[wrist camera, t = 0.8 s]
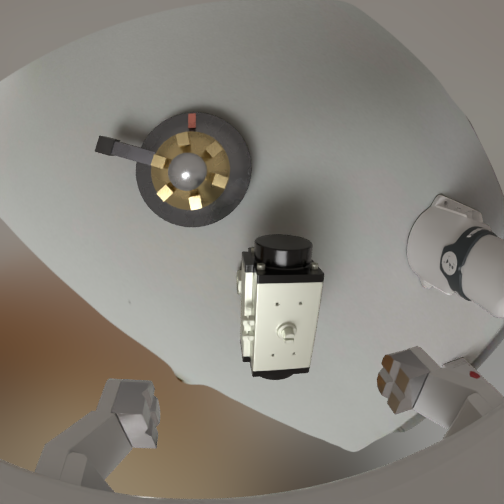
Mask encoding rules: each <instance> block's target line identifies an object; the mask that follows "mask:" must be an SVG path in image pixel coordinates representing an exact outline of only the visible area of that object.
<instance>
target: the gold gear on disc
mask: <svg viewBox="0 0 504 504" xmlns="http://www.w3.org/2000/svg"><path fill="white" fill-rule="evenodd" d="M187 131H195V132H201V133H204V134H207V135H209V136H211V137H213V138H214V139H215V140H217V141H218V142H219V143H220V144H221V146H222V147H223V148H224V150H225V152H226V154H227V156H228V159H229V163H230V176H229V180H228V183H227V186H226V188H225V190H224V191H223V193H222V194H221V195H220V197H219V198H218V199H217V200H215V201H214V202H213V203H211V204H210V205H208V206H206V207H203V208H200V209H195V210H184V209H179V208H176V207H173V206H171V205H170V204H168V203H167V202H165V201H163V200H162V199H161V198H160V197H159V196H158V195H157V191H156V190H155V188H154V185H153V182H152V177H151V166H150V165H147V164H143V163H140V162H137V164H136V179H137V184H138V188H139V191H140V193H141V196H142V197H143V199H144V201H145V202H146V204H147V205H148V207H149V208H150V209H151V210H152V211H153V212H154V213H155V214H157V215H158V216H159V217H161V218H162V219H164V220H165V221H168V222H170V223H172V224H175V225H179V226H184V227H200V226H205V225H209V224H212V223H215V222H217V221H219V220H221V219H223V218H224V217H226V216H227V215H229V214H230V213H231V212H232V211H233V210H234V209H235V208H236V207H237V206H238V205H239V203H240V202H241V200H242V199H243V197H244V195H245V193H246V191H247V189H248V186H249V183H250V178H251V159H250V154H249V151H248V148H247V145H246V143H245V141H244V140H243V138H242V137H241V135H240V134H239V133H238V131H237V130H236V129H235V128H234V127H233V126H231V125H230V124H229V123H228V122H226V121H224V120H223V119H221V118H219V117H216V116H214V115H210V114H206V113H197V112H192V113H184V114H180V115H176V116H174V117H171V118H169V119H167V120H165V121H164V122H162V123H161V124H159V125H158V126H157V127H156V128H155V129H154V130H153V131H152V132H151V133H150V134H149V135H148V137H147V138H146V139H145V141H144V143H143V144H142V147H141V148H144V149H147V150H151V151H154V152H157V150H158V149H159V147H160V146H161V145H162V144H163V143H164V142H165V141H166V140H167V139H169V138H170V137H172V136H174V135H176V134H178V133H182V132H187ZM168 176H169V180H170V182H171V183H172V184H173V185H174V186H175V187H176V188H178V189H180V190H184V191H190V190H193V189H196V188H197V187H199V186H200V185H201V184H202V183H203V181H204V180H205V178H206V176H207V165H206V163H205V161H204V159H203V158H202V157H200V156H199V155H197V154H194V153H182V154H179V155H177V156H176V157H175V158H174V159H173V160H172V161H171V163H170V165H169V168H168Z"/></svg>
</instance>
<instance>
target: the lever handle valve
mask: <svg viewBox="0 0 504 504" xmlns="http://www.w3.org/2000/svg"><path fill="white" fill-rule="evenodd" d="M95 152H98V153H102V154H106V155H109V156H115V155H116V156H119V157H123V158H126V159H130V160H133V161H137V162H140V163H143V164H147V165H150V166H151V177H152V182H153V185H154V188H155V190H156V191H157V195H158V196H159V197H160V198H161V199H162V200H163V201H165V202H167V203H168V204H170V205H171V206H173V207H176V208H179V209H184V210H195V209H200V208H203V207H206V206H208V205H210V204H211V203H213V202H214V201H215V200H217V199H218V198H219V197H220V195H221V194H222V193H223V191H224V190H225V188H226V186H227V183H228V180H229V176H230V163H229V159H228V156H227V154H226V152H225V150H224V148H223V147H222V146H221V144H220V143H219V142H218V141H217V140H215V139H214V138H213V137H211V136H209V135H207V134H204V133H201V132H195V131H187V132H182V133H178V134H176V135H174V136H172V137H170V138H169V139H167V140H166V141H165V142H164V143H163V144H162V145H161V146H160V147H159V149H158V150H157V152H154V151H151V150H147V149H144V148H140V147H137V146H133V145H129V144H126V143H122V142H120V140H117V139H113V138H109V137H105V136H99V139H98V142H97V145H96V149H95ZM182 153H194V154H197V155H199V156H200V157H202V158H203V159H204V161H205V163H206V165H207V176H206V178H205V180H204V181H203V183H202V184H201V185H200V186H199V187H197V188H196V189H193V190H190V191H184V190H180V189H178V188H176V187H175V186H174V185H173V184H172V183H171V182H170V180H169V176H168V168H169V165H170V163H171V161H172V160H173V159H174V158H175V157H176V156H177V155H179V154H182Z"/></svg>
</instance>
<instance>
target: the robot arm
mask: <svg viewBox="0 0 504 504" xmlns="http://www.w3.org/2000/svg"><path fill="white" fill-rule="evenodd" d="M444 203H445V204H444ZM407 257H408V262H409V265H410V267H411V269H412V270H413V272H414V273H415V274H417V275H418V276H419V278H420V280H421V283H422V286H423V287H424V288H426V289H429V288H432V287H435V288H437V289H439V290H440V291H442V292H444V293H446V294H448V295H451V294H454V293H456V294H457V295H458V296H460V297H461V298H464V299H466V300H468V301H473V302H474V303H476V304H477V305H479V306H480V307H482V308H483V309H484V310H486V311H487V312H489V313H490V314H491V315H493V316H494V317H496V318H504V239H501V238H498V237H497V236H496V235H495V234H494V233H493V232H492V231H491V228H490V226H489V225H486V224H483V219H482V214H481V213H480V212H479V211H477V210H475V209H472V208H470V207H468V206H466V205H464V204H461V203H459V202H457V201H454V200H452V199H450V198H448V197H445V196H443V195H438V196H437V197H436V198H435V200H434V201H433V203H432V205H431V206H430V207H429V208H428V209H427V210H426V211H425V212H423V213H422V214H421V215H420V216H419V218H418V219H417V220H416V222H415V224H414V225H413V227H412V230H411V232H410V235H409V239H408V244H407ZM381 364H382V366H383V368H382V369H381V371H380V372H379V373H378V377H377V387H378V389H379V392H380V393H381V395H382V396H384V397H386V398H388V401H387V404H388V405H389V407H390V408H391V410H392V411H393V413H394V414H398V413H401V412H404V411H407V410H410V409H413V410H414V411H416V412H418V413H420V414H421V415H423V416H425V417H426V418H428V419H430V420H432V421H434V422H435V423H437V424H439V425H441V426H442V427H444V428H446V429H448V431H447V432H446V434H445V435H444V437H443V440H441V441H440V442H437V443H435V444H433V445H431V446H429V447H427V448H425V449H423V450H421V451H418V452H416V453H414V454H412V455H409V456H407V457H405V458H402V459H400V460H397V461H395V462H392V463H390V464H387V465H385V466H382V467H379V468H376V469H373V470H370V471H368V472H364V473H361V474H358V475H355V476H351V477H348V478H345V479H341V480H337V481H334V482H329V483H325V484H321V485H317V486H313V487H308V488H303V489H298V490H293V491H287V492H281V493H274V494H267V495H259V496H250V497H238V498H222V499H172V498H155V497H145V496H136V495H128V494H120V493H115V492H114V491H113V490H112V489H111V487H109V485H108V484H107V483H106V482H105V479H106V478H107V476H108V475H109V474H110V473H111V472H112V471H113V470H114V469H115V468H116V466H117V465H118V464H119V463H120V462H121V461H122V460H123V459H124V458H125V456H126V455H127V454H128V453H129V452H130V451H131V450H132V447H137V448H157V439H158V432H157V429H156V426H157V425H158V424H159V423H160V407H159V402H158V399H157V398H156V397H155V396H154V390H155V389H154V386H153V383H152V382H151V381H146V380H128V379H123V380H122V379H111V378H110V379H108V380H107V382H106V384H105V387H104V390H103V392H102V395H101V398H100V400H99V403H98V406H97V409H96V411H91V412H90V413H88V414H87V415H86V416H84V417H83V418H82V419H80V420H79V421H77V422H76V423H74V424H73V425H72V426H70V427H69V428H68V429H66V430H65V431H64V432H62V433H60V434H59V435H58V436H56V437H55V438H53V439H52V440H51V441H50V442H48V443H46V444H45V446H44V449H43V451H42V454H41V456H40V459H39V461H38V464H37V467H36V469H35V472H32V471H29V470H26V469H24V468H21V467H18V466H16V465H13V464H11V463H9V462H6V461H4V460H2V459H0V504H504V397H503V396H502V395H501V394H500V393H499V392H498V391H497V390H496V389H495V388H494V387H493V386H492V385H491V384H490V383H488V382H485V381H482V380H479V379H476V378H473V377H470V376H467V375H464V374H461V373H458V372H455V371H452V370H450V369H447V368H442V369H441V368H440V367H439V366H438V365H437V363H436V362H435V361H434V360H433V359H432V358H431V357H430V356H429V355H428V354H427V353H426V352H425V351H424V350H423V349H422V348H421V347H418V346H416V347H413V348H409V349H407V350H403V351H399V352H395V353H391V354H387V355H385V356H384V358H383V360H382V363H381Z"/></svg>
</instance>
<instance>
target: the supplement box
mask: <svg viewBox="0 0 504 504" xmlns="http://www.w3.org/2000/svg"><path fill="white" fill-rule="evenodd" d="M442 368H447V369H450V370H452V371H455V372H458V373H461V374H464V375H467V376H470V377H473V378H476V379H479V380H482V381H485V382H487V381H486V380H485V379H484V378H483V377H482V376H481V375H480V374H479V373H478V372H477V370H476V369H475V368H474V367H473V366H472V365H470V364H469V363H468V362H467V361H466V360H465V359H464V358H460V359H458V360H455V361H452V362H449V363H446V364H444V365H443V366H442Z"/></svg>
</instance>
